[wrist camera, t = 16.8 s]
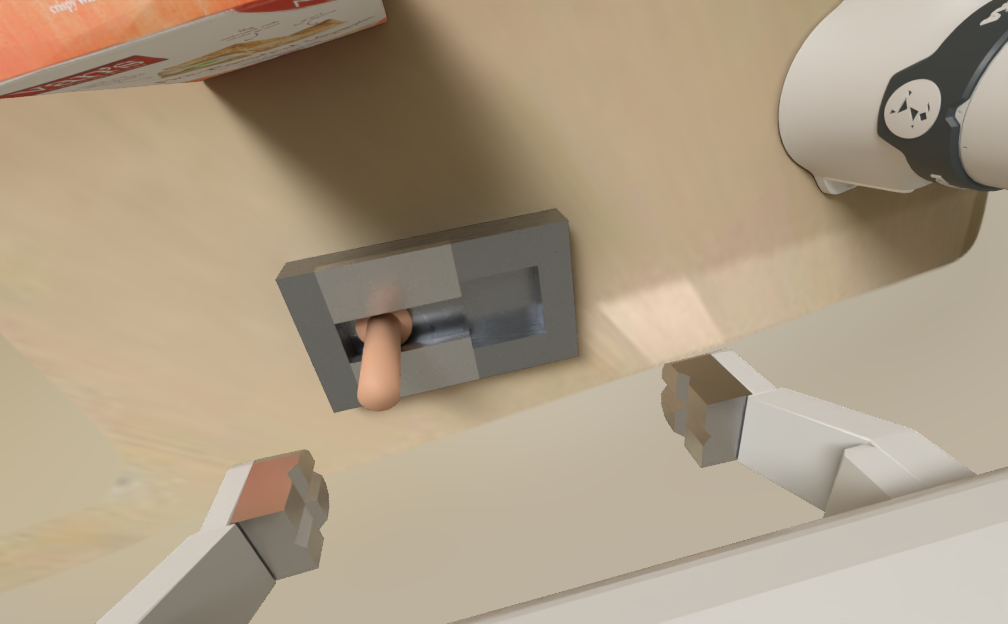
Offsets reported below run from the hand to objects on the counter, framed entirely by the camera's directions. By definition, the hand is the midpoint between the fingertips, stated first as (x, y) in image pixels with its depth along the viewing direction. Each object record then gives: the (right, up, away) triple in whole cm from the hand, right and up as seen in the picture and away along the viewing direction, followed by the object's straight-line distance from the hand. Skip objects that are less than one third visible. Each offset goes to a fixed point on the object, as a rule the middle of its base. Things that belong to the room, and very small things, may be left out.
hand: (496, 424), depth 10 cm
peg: (-11, +2, +32) cm, 34 cm away
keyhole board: (-6, +3, +33) cm, 34 cm away
